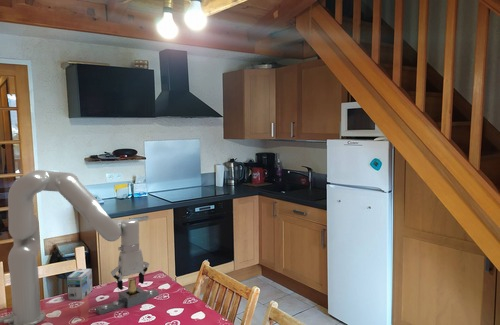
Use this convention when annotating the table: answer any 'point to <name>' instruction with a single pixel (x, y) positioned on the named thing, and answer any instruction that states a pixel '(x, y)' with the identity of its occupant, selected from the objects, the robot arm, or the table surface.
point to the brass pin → (132, 286)
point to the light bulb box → (79, 284)
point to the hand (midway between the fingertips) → (130, 285)
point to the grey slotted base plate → (127, 300)
